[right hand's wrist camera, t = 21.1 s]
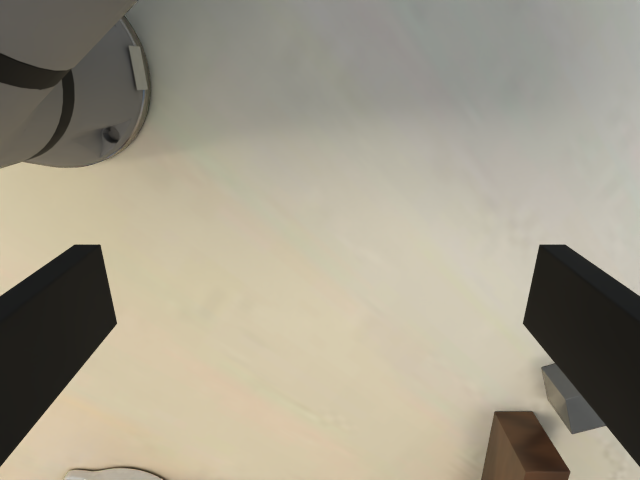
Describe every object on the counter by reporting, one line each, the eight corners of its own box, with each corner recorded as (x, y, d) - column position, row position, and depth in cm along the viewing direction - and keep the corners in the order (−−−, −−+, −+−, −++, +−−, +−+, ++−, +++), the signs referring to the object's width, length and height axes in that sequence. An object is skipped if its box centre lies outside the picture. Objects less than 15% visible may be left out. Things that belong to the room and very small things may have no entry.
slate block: (547, 400, 48) (572, 434, 44) (541, 367, 47) (565, 399, 42) (591, 388, 48) (621, 422, 43) (586, 354, 46) (616, 386, 41)
